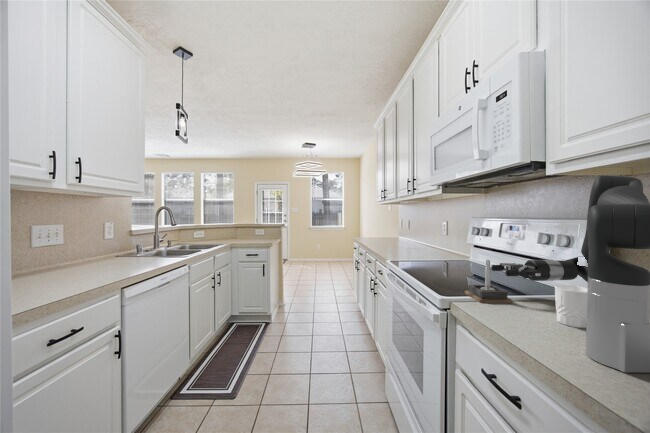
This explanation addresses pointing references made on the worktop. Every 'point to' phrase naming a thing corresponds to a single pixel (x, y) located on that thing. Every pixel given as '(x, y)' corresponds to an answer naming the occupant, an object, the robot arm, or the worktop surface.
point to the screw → (487, 278)
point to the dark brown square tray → (488, 294)
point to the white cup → (571, 305)
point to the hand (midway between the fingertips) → (498, 270)
